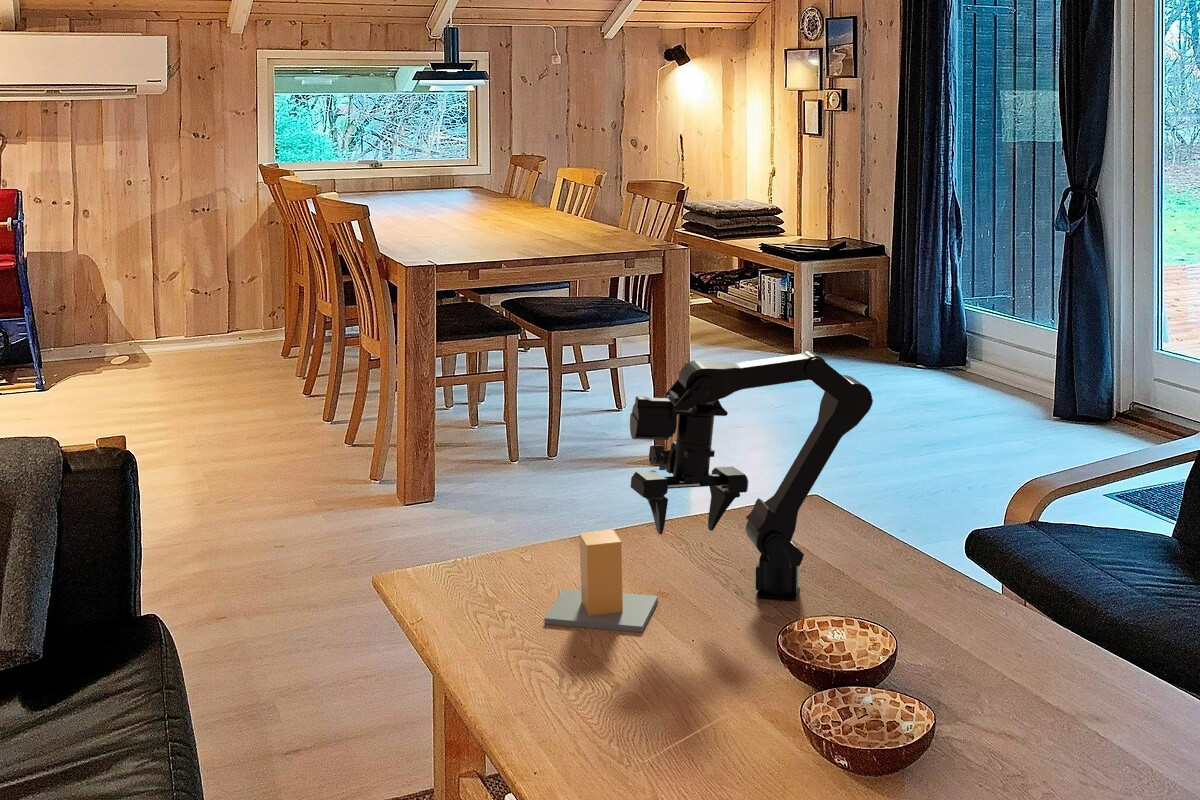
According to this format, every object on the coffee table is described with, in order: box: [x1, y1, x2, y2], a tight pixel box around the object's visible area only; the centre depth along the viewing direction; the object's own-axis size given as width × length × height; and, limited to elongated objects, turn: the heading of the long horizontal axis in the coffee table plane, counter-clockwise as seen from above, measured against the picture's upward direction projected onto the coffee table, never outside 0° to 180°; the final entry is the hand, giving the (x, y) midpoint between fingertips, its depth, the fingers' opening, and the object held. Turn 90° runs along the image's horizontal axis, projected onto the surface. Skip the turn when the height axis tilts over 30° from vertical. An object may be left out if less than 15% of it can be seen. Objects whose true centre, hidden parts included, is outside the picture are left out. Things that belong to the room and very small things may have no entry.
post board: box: [543, 588, 659, 633], centre depth 210 cm, size 16×12×4 cm
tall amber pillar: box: [579, 529, 623, 615], centre depth 208 cm, size 6×6×12 cm
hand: (685, 531), depth 211 cm, fingers open, 9 cm apart
